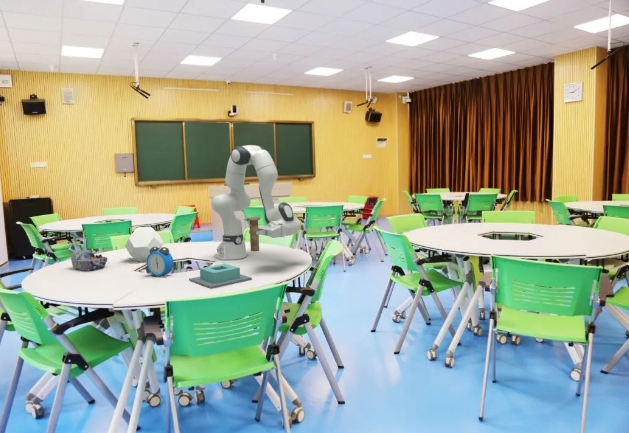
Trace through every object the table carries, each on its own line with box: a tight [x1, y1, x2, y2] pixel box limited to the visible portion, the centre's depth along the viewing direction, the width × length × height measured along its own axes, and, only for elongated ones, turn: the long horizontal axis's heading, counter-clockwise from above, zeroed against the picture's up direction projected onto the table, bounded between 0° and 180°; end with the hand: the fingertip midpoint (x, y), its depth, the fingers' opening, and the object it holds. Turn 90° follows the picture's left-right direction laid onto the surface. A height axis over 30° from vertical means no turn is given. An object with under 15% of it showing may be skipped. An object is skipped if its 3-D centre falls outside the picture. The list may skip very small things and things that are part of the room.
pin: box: [246, 216, 261, 253], centre depth 233 cm, size 6×6×17 cm
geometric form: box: [124, 226, 165, 263], centre depth 276 cm, size 20×20×20 cm
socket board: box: [188, 263, 253, 290], centre depth 221 cm, size 22×22×6 cm
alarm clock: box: [146, 246, 175, 278], centre depth 235 cm, size 13×6×15 cm, turn 67°
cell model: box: [70, 249, 108, 272], centre depth 257 cm, size 13×11×20 cm
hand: (252, 232), depth 232 cm, fingers closed on pin, 4 cm apart
